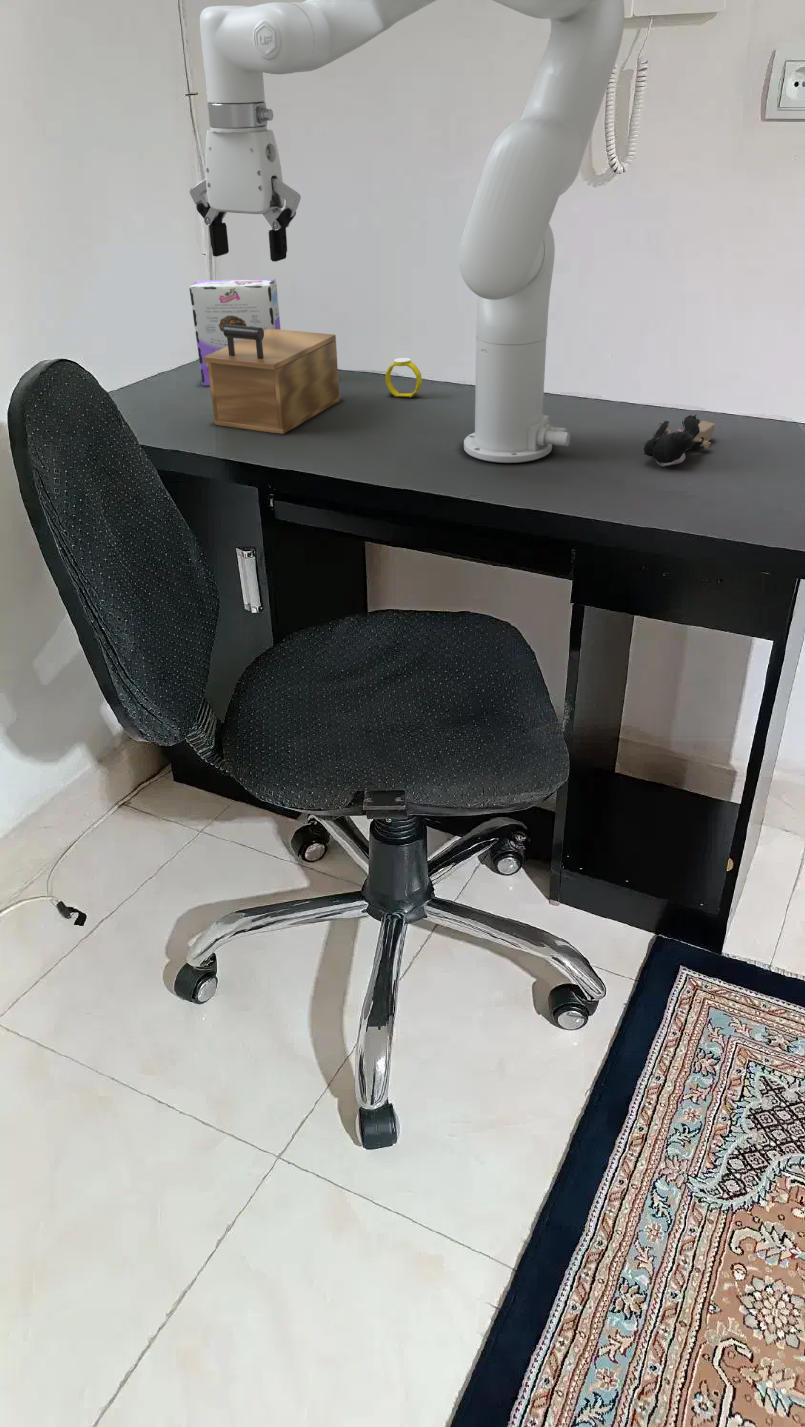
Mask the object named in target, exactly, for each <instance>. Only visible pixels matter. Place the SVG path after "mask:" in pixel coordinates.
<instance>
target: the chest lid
mask: <svg viewBox="0 0 805 1427" xmlns="http://www.w3.org/2000/svg"><path fill="white" fill-rule="evenodd" d="M223 333H224V336H225V337H227V342H228V346H227V347H225V348H223V349H221V350H218V351H216V352H214V353H211V354H209V355H207V356H204V357H203V358H204V362H208V363H217V364H226V365H235V366H244V367H253V368H262V369H271V370H275V369H277V368H279V367H281V366H283V365H286V364H288V363H290V362H292V361H294V360H296V359H298V358H300V357H302V356H304V355H306V354H308V353H310V352H312V351H314V350H316V349H318V348H320V347H322V346H324V345H326V344H328V343H330V342H332V341H334V340H336V341H337V335H336V334H331V333H322V332H321V333H320V332H311V331H309V332H308V331H301V330H289V329H281V330H280V329H267V330H265V331H264V330H263V329H262V328H260V327H249V326H239V325H228V324H227V325H225V326H224V329H223ZM233 338H239V339H244V340H241V341H239V342H237V343H234V340H233Z"/></svg>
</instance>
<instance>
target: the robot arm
mask: <svg viewBox="0 0 805 1427" xmlns="http://www.w3.org/2000/svg"><path fill="white" fill-rule="evenodd" d="M436 1H437V0H303V1H302V2H289V1H285V2H282V1H281V2H280V1H279V2H277V1H275V2H266V3H261V4H257V5H251V6H247V5H210V6H207V7H205V8H204V9H203V10H202V11H201V12H200V15H199V32H200V41H201V42H200V43H201V51H202V61H203V62H202V63H203V72H204V81H205V92H206V100H207V112H208V113H207V114H208V122H209V129H207V130H206V136H205V152H204V165H205V167H204V168H205V178H204V179H202V180H201V181H200V182H198V183H197V184H196V185H194V186H193V187H191V188H190V189H189V195H190V197H191V198H192V200H193V202H194V204H195V205H196V206H195V207H196V210H197V213H199V215H200V216H201V217H202V218H203V222H204V224H205V225H206V226H208V232H209V239H210V247H211V252H212V256H213V257H221V256H224V255H227V254H228V253H229V252H230V249H229V238H228V237H229V236H228V228H227V223H226V222H223V220H224V219H225V217H226V215H227V213H233V214H245V215H246V214H249V215H262V216H263V217H264V218H265V219H266V221H267V223H268V224H269V226H270V227H271V229H270V230H268V244H269V256H270V261H272V262H275V263H276V262H280V261H282V260H286V258H287V252H288V238H287V228H289V227H290V223H291V222H292V221H293V219H294V218H295V217H296V215H297V210H298V207H299V205H300V202H301V198H302V197H301V194H300V193H299V192H298V191H296V190H295V189H294V188H292V187H290V186H289V185H288V184H286V183H285V182H284V180H283V172H282V166H281V160H280V155H279V148H278V145H277V142H276V138H275V134H274V130H273V129H268V127H267V126H268V121H273V119H274V111H273V110H272V108H268V107H267V103H266V99H265V98H266V96H265V84H264V82H265V81H264V74H271V75H289V74H295V73H305V72H312V71H315V70H318V69H321V68H322V67H325V66H327V65H329V64H330V63H333V62H334V61H336V60H338V59H340V58H342V57H344V56H345V55H347V54H350V53H351V52H354V50H356V49H358V48H360V47H361V46H362V47H363V46H364V45H365V44H366V43H368V42H370V41H372V40H373V39H374V38H376V37H377V36H379V35H380V34H382V33H384V32H386V31H388V30H389V29H391V28H392V27H393V26H394V25H395V24H397V23H398V22H401V21H402V20H404V19H406V18H407V17H409V16H411V15H413V14H414V13H417V12H419V11H420V10H421V9H423V8H425V7H427V6H429V5H431V4H433V3H434V2H436ZM492 1H493V2H496V3H498V4H500V5H502V6H505V7H506V8H509V9H511V10H513V11H515V12H518V13H520V14H522V15H525V16H528V17H531V18H534V19H541V20H550V34H549V39H548V41H547V45H546V47H545V49H544V51H543V54H542V56H541V58H540V60H539V63H538V67H537V69H536V72H535V73H536V74H535V75H534V80H533V84H532V86H531V89H530V92H529V96H528V98H527V101H526V103H525V107H524V110H523V112H522V113H521V114H522V115H521V116H520V118H519V120H516V121H514V122H513V123H511V124H509V125H508V126H507V127H506V128H505V129H503V130H502V132H501V133H500V134H499V135H498V137H497V138H496V140H495V141H494V143H493V145H492V147H491V149H490V151H489V154H488V155H487V159H486V161H485V164H484V167H483V170H482V172H481V176H480V179H479V182H478V185H477V188H476V192H475V195H474V198H473V200H472V204H471V208H470V211H469V214H468V217H467V220H466V223H465V227H464V229H463V232H462V237H461V239H460V244H459V249H458V267H459V271H460V274H461V277H462V279H463V281H464V283H465V284H466V286H467V287H468V288H469V290H470V291H472V293H474V294H475V295H476V296H477V307H476V326H475V328H476V329H475V330H476V331H475V332H476V334H475V335H476V336H475V385H474V386H475V387H474V388H475V389H474V391H475V393H474V394H475V395H474V397H475V398H474V432H472V433H470V434H468V435H467V436H466V437H465V438H464V439H463V450H464V451H465V452H466V454H467V455H469V456H470V457H473V458H474V459H477V460H480V461H481V460H482V461H484V462H490V463H500V464H501V463H502V464H517V463H527V462H531V461H532V462H533V461H535V460H539V459H542V458H544V457H546V456H547V455H549V454H550V453H551V452H552V450H553V445H554V446H558V447H564V448H567V447H569V446H570V442H571V433H570V432H568V428H566V427H558V426H557V427H555V426H552V425H551V424H549V423H550V415H545V414H544V399H545V398H544V396H545V395H544V394H545V377H546V376H545V374H546V355H547V337H548V325H549V309H550V308H549V307H550V296H551V287H552V280H553V273H554V264H555V254H556V253H555V252H556V251H555V250H556V249H555V247H556V246H555V238H554V232H553V230H552V227H551V224H550V222H551V219H552V217H553V214H554V211H555V209H556V206H557V203H558V200H559V198H560V197H561V196H562V195H564V193H566V192H567V191H568V190H569V188H570V187H571V186H572V185H573V184H574V182H575V181H576V179H577V178H578V174H579V172H580V169H581V165H582V163H583V159H584V155H585V154H586V149H587V147H588V143H589V141H590V138H591V135H592V133H593V129H594V127H595V124H596V121H597V118H598V116H599V113H600V110H601V107H602V103H603V101H604V97H605V94H606V91H607V89H608V85H609V83H610V80H611V77H612V74H613V71H614V68H615V65H616V63H617V59H618V56H619V52H620V49H621V46H622V40H623V34H624V29H625V12H626V11H625V0H492ZM206 196H207V198H206ZM284 206H285V207H284Z"/></svg>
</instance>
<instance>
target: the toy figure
mask: <svg viewBox="0 0 805 1427" xmlns="http://www.w3.org/2000/svg"><path fill="white" fill-rule="evenodd" d="M669 424H670V421H669V420H664V421H663V422H662V423H661V422H659V424H658V426H659V427H657V429H656V431H654V432H653V435H652V436H653V437H652V438H651V439H649V440H646V441H645V442H644V443H643V450H644V451H643V452H644V453H643V454H644V455H647V456H648V457H651V458H653V459H654V460H655V461H656V464H658V465H659V466H660V467H667V466H670V467H672V466H675V465H678V464H681V463H682V462H684V461H685V459H686V456H687V454H689V453H690V451H689V450H691V449H694V450H696V449H697V450H698V449H699V448H702V449H704V450H708V449H709V447H710V446H711V444H712V443H711V442H710V440H712V438H713V434H714V431H715V426H716V423H714V422H710V421H707V420H702V421H700V419H699V418H697V414H695V415H692V414H689V415H687V416H686V417H684V418H683V419H682V421H681V425H682V427H683V428H677V429H676V431H675V432H672V431H671V430H670V429H668V428H669ZM686 451H689V452H687V453H686Z"/></svg>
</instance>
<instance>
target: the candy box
mask: <svg viewBox="0 0 805 1427" xmlns="http://www.w3.org/2000/svg"><path fill="white" fill-rule="evenodd" d="M188 289H189V295H190V303H191V310H192V318H193V326H194V333H195V339H196V347H197V354H198V362H199V368H200V375H201V376H200V377H201V386H203V387H204V386H205V387H210V380H209V372H208V364H207V362H204V358H203V357H204V356H207V355H209V354H211V353H214V352H216V351H218V350H221V349H223V348H225V347H227V346H228V342H227V337H225V336H224V333H223V329H224V326H225V325H227V324H228V325H239V326H249V327H260V328H262V329H263V330H264V331H265V330H267V329H280V330H282V327H281V318H280V308H279V297H278V296H279V295H278V288H277V279H276V278H264V279H263V278H260V279H258V278H255V279H202V280H201V279H197V281H196V282H194V283H192V285H190V286H189V287H188ZM233 340H234V343H237V342H239V341H241V340H244V339H239V338H233Z"/></svg>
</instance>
